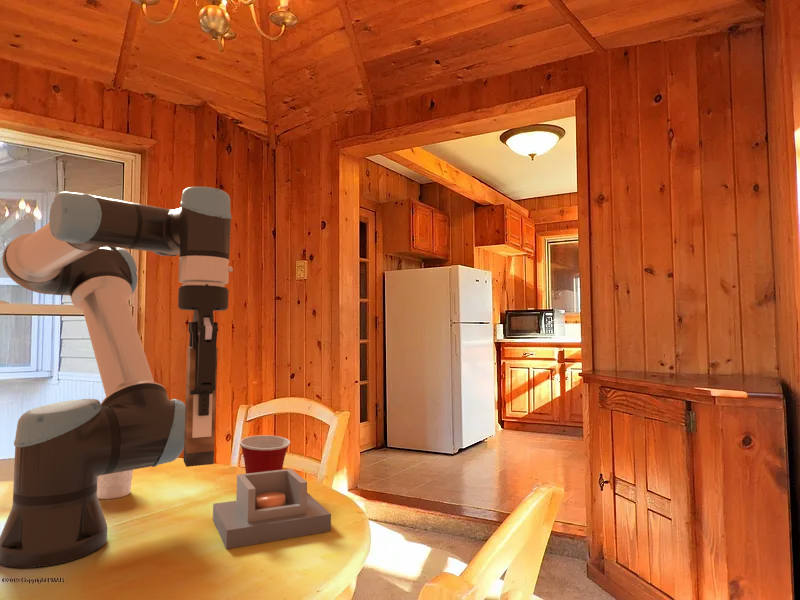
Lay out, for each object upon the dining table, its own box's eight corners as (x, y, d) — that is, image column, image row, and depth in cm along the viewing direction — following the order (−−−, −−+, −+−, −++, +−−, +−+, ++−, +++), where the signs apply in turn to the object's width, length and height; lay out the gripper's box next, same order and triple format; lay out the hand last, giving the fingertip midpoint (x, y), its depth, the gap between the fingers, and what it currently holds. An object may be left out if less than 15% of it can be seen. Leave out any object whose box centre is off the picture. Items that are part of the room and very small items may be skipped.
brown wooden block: (186, 466, 81) (190, 347, 82) (183, 460, 85) (187, 346, 86) (213, 464, 83) (217, 347, 84) (210, 458, 87) (213, 346, 88)
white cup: (140, 489, 119) (142, 444, 120) (118, 501, 111) (120, 452, 112) (107, 488, 120) (109, 443, 121) (83, 499, 112) (85, 451, 113)
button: (259, 513, 95) (259, 502, 95) (253, 505, 100) (253, 494, 100) (288, 509, 97) (288, 498, 97) (281, 501, 102) (281, 490, 102)
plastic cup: (256, 507, 108) (258, 447, 109) (227, 496, 115) (229, 439, 116) (299, 495, 116) (300, 439, 117) (270, 485, 123) (271, 432, 124)
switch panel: (226, 549, 88) (227, 496, 88) (212, 519, 101) (214, 474, 101) (330, 531, 96) (331, 482, 96) (305, 506, 109) (306, 463, 110)
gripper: (238, 282, 80) (234, 442, 78) (219, 289, 95) (216, 423, 94) (184, 280, 76) (179, 447, 75) (174, 288, 91) (169, 426, 90)
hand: (199, 433), depth 84 cm, fingers closed on brown wooden block, 4 cm apart
